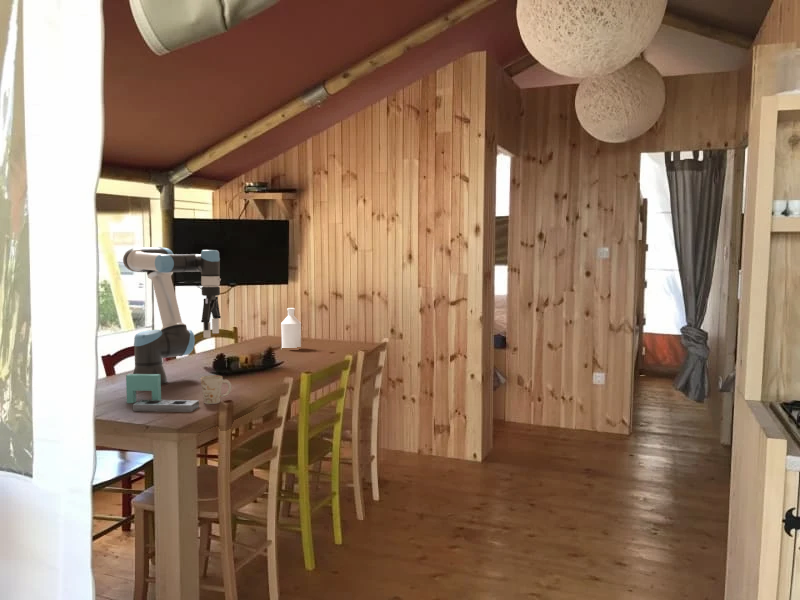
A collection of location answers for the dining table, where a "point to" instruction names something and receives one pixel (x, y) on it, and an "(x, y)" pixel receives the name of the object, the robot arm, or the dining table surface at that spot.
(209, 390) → the mug
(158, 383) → the panel
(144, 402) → the block
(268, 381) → the dining table surface
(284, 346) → the bottle
